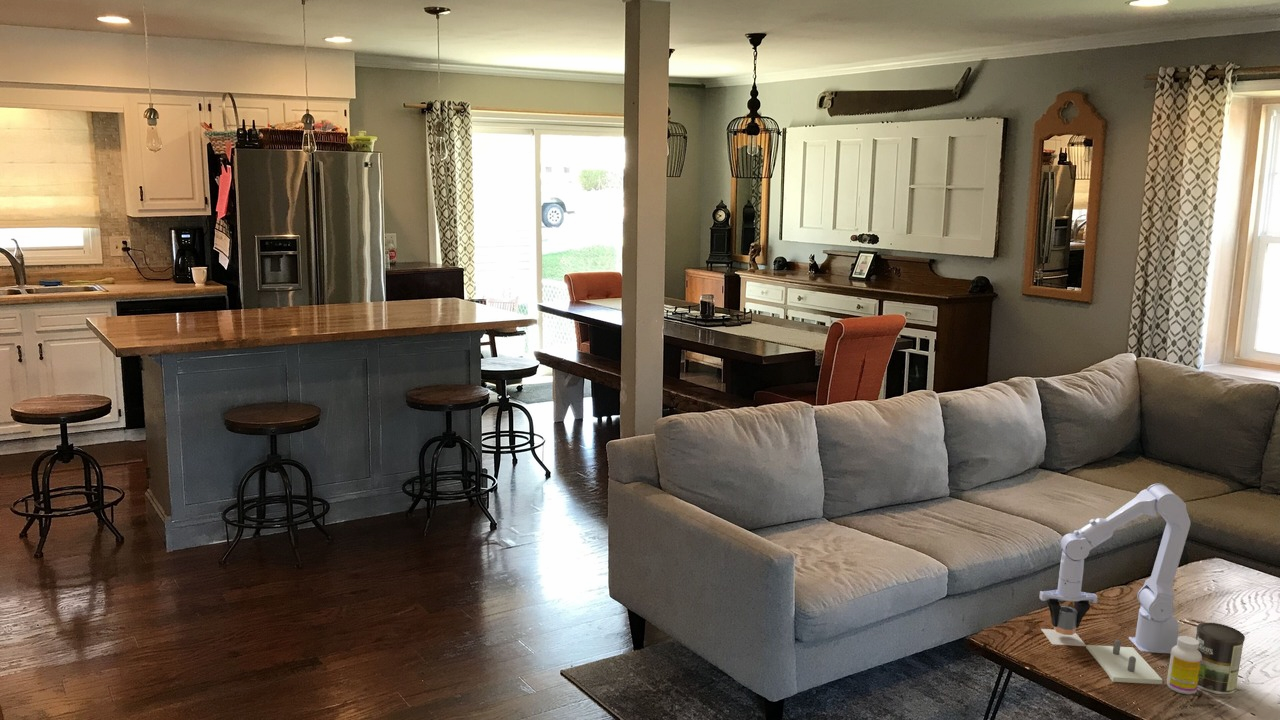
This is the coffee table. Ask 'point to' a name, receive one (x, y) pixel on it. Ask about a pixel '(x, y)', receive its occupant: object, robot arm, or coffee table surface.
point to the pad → (1063, 638)
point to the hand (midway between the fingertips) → (1065, 625)
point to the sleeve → (1067, 621)
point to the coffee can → (1219, 657)
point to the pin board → (1124, 664)
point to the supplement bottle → (1184, 666)
